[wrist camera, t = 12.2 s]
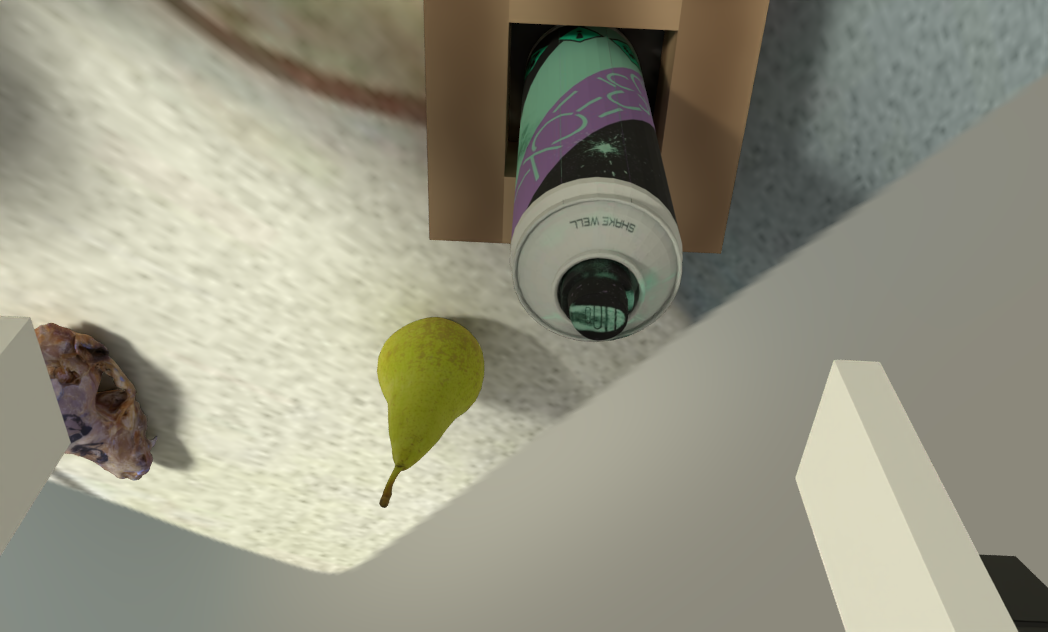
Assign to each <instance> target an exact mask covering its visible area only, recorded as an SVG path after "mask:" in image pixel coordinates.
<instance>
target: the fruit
mask: <svg viewBox="0 0 1048 632" xmlns="http://www.w3.org/2000/svg"><path fill="white" fill-rule="evenodd" d="M377 374H378V380H379V384H380V387H381V389H382V392H383V395H384V397H385V399H386V400H387V403H388V424H389V436H390V441H391V446H392V455H393V460H394V463H395V468H394V470H393V472H392V474H391V476H390V478H389V480H388V482H387V484H386V487H385V489H384V491H383V495H382V497H381V500H380V503H379V504H380V506H381V507H383V508H386V507H387V506H388V504H389V500H390V497H391V495H392V486H393V483H394V481H395V479H396V477H397V476H398V474H399V473H400V472H401V471H404V470H407V469H408V468H410V467H411V466H413V465H414V464H415V463H416V462H417V461H419V460H420V459H421V458H422V457H423V456H424V455H425V454H426V453H427V452H428V451H429V450H430V449H431V448H432V447H433V446H434V445H435V444H436V443H437V442H438V440H439V439H440V438H441V436H442V435H443V433H444V432H445V431H446V430H447V428H448V427H449V426H450V425H451V423H452V422H453V421H454V420H455V419H456V418H457V417H459V416H460V415H462V414H463V413H464V412H466V411H467V410H468V409H469V408H470V407H471V405H472V404H473V403H474V402H475V401H476V399H477V397H478V394H479V392H480V390H481V387H482V383H483V378H484V358H483V353H482V349H481V347H480V345H479V343H478V342H477V340H476V339H475V337H474V336H473V335H472V334H471V333H470V332H469V331H468V330H467V329H465V328H464V327H463V326H461V325H460V324H458V323H456V322H454V321H451V320H448V319H444V318H439V317H429V318H424V319H420V320H418V321H415V322H412V323H410V324H408V325H406V326H404V327H402V328H401V329H399V330H398V331H397V332H395V333H394V334H393V335H392V336H391V337H390V338H389V339H388V340H387V341H386V342H385V344H384V346H383V348H382V350H381V352H380V355H379V358H378V367H377Z"/></svg>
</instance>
